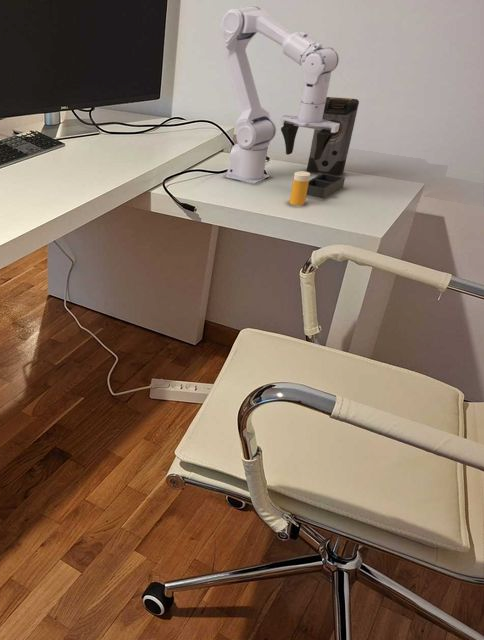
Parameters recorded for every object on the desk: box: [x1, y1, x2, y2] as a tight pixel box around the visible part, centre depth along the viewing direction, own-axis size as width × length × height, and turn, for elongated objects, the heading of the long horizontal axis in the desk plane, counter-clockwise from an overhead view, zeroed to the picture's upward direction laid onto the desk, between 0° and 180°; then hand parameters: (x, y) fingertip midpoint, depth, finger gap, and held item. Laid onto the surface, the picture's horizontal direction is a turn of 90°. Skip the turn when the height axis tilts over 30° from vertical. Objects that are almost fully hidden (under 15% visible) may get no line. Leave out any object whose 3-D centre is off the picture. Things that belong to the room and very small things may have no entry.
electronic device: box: [306, 96, 360, 177], centre depth 182 cm, size 9×6×20 cm, turn 58°
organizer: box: [306, 173, 346, 200], centre depth 175 cm, size 6×12×3 cm, turn 133°
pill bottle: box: [289, 170, 311, 206], centre depth 167 cm, size 4×4×8 cm
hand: (302, 156), depth 172 cm, fingers open, 7 cm apart
